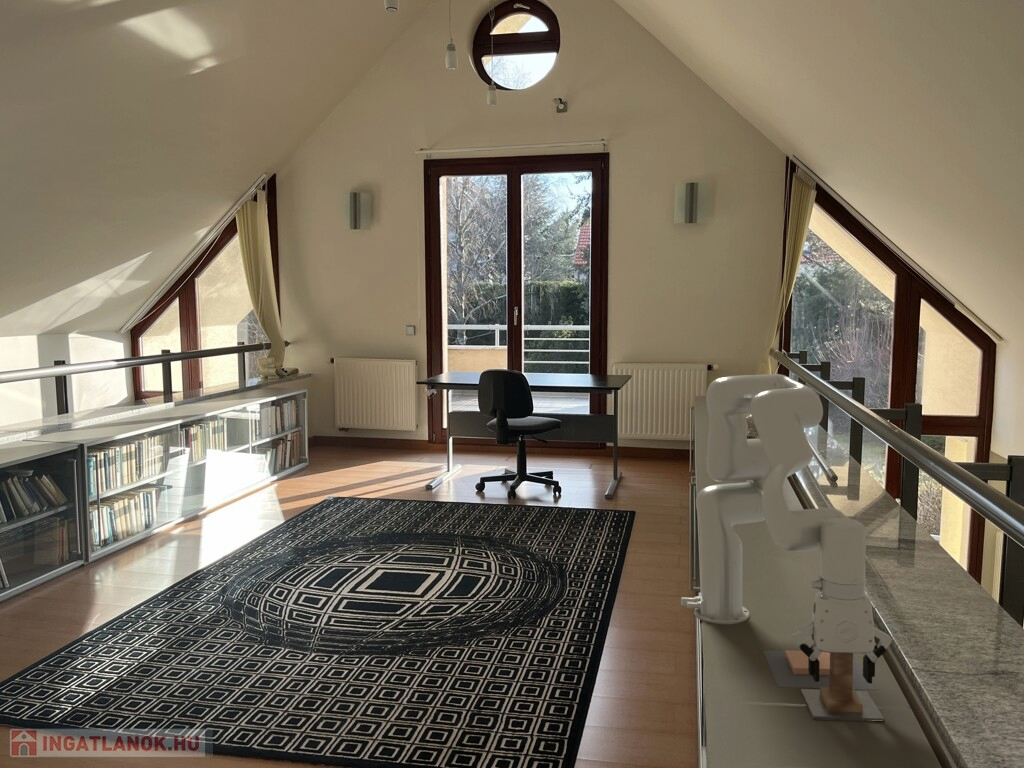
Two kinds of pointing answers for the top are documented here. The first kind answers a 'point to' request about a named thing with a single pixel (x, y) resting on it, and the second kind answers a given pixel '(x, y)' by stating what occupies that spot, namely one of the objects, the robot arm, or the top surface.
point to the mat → (788, 679)
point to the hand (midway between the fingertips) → (841, 679)
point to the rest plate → (821, 713)
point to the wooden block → (841, 685)
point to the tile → (800, 662)
